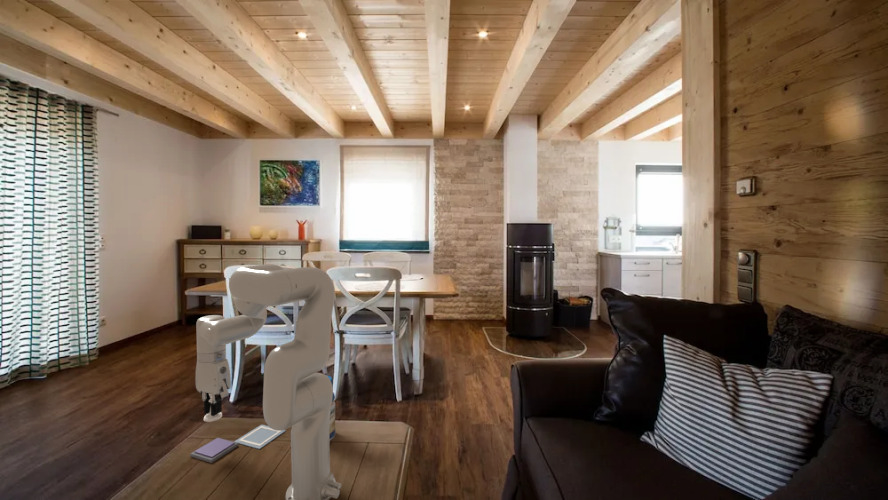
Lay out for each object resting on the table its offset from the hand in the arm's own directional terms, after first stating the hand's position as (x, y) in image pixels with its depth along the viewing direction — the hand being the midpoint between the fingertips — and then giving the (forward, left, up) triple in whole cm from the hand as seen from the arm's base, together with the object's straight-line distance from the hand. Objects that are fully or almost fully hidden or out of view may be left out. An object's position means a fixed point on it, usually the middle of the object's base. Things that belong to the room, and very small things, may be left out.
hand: (212, 412), depth 111 cm
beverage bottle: (-27, -18, -13) cm, 35 cm away
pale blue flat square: (-7, -11, -12) cm, 18 cm away
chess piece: (0, 0, -2) cm, 2 cm away
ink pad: (0, 0, -12) cm, 12 cm away
